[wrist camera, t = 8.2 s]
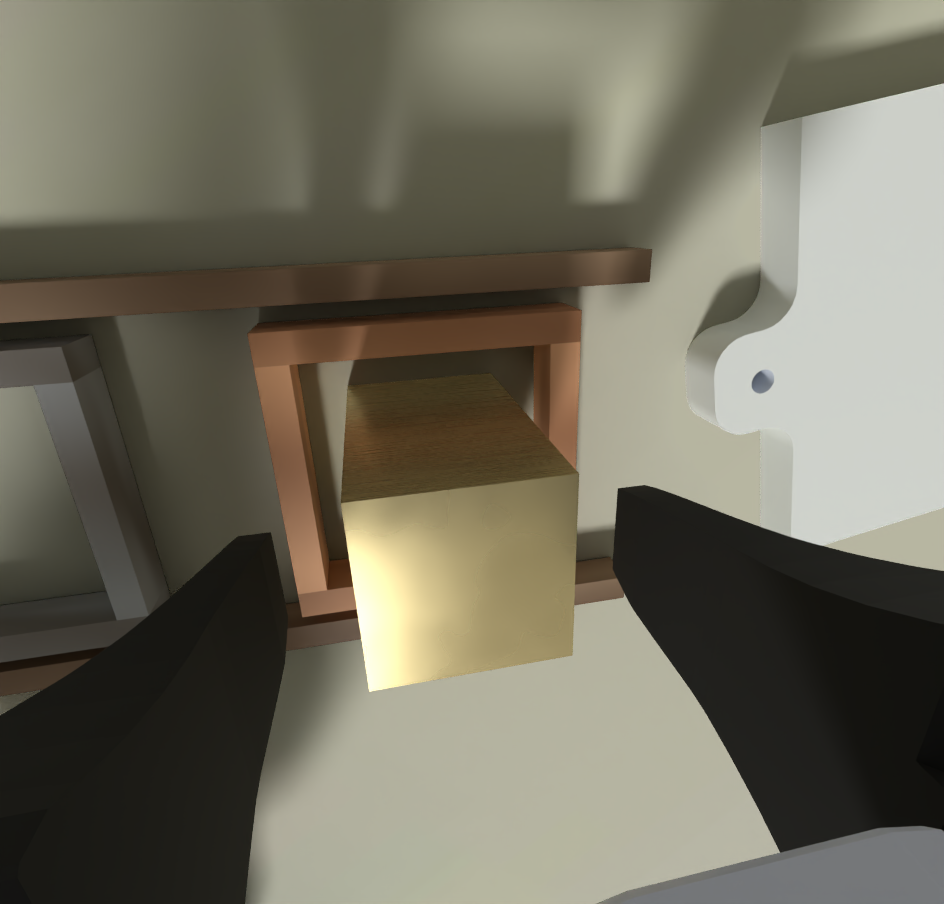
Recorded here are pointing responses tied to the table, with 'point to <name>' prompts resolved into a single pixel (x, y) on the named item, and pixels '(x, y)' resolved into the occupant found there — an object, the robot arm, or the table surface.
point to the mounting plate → (841, 322)
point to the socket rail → (269, 417)
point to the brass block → (455, 530)
